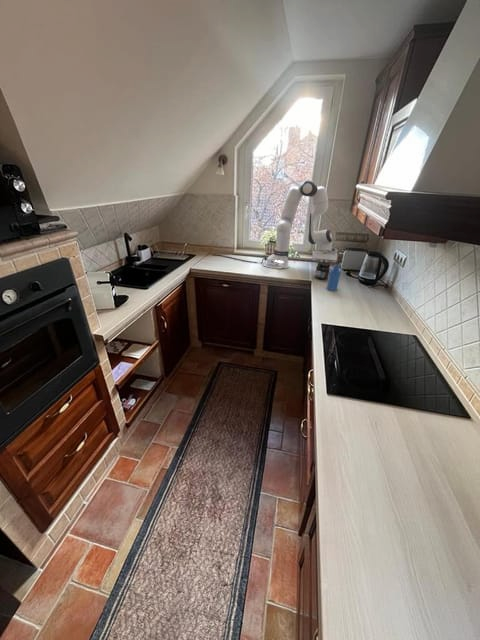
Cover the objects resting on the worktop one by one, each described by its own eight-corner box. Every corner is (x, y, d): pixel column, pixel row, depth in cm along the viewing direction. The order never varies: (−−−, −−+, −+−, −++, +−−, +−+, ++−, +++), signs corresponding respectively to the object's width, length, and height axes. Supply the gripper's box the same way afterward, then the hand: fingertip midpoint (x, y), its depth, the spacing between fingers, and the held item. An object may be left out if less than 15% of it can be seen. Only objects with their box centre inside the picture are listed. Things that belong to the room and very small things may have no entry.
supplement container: (327, 276, 206) (330, 262, 200) (328, 280, 198) (331, 266, 192) (314, 275, 208) (316, 260, 202) (314, 279, 200) (317, 264, 194)
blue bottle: (326, 290, 182) (331, 265, 173) (326, 286, 187) (331, 263, 178) (336, 291, 180) (342, 267, 171) (336, 288, 186) (341, 264, 177)
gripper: (313, 247, 212) (310, 262, 209) (338, 249, 207) (336, 264, 203) (312, 251, 218) (310, 265, 214) (337, 253, 213) (335, 268, 209)
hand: (323, 265), depth 209 cm, fingers closed
